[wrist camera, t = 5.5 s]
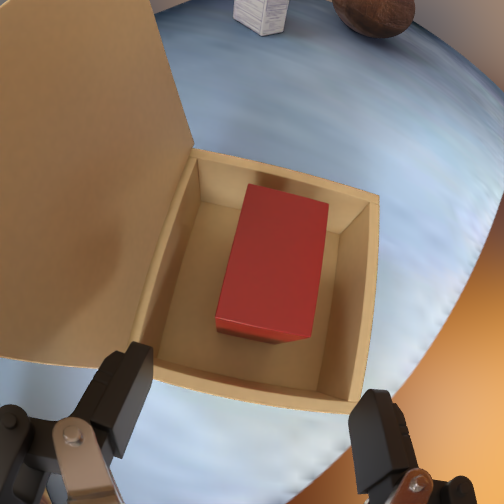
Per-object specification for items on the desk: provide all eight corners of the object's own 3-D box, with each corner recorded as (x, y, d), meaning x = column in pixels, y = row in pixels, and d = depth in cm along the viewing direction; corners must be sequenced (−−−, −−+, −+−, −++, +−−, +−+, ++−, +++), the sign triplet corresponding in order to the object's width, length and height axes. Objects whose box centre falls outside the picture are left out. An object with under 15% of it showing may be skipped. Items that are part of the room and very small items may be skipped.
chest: (345, 232, 26) (379, 195, 20) (320, 400, 21) (357, 415, 15) (195, 196, 26) (189, 147, 19) (147, 364, 21) (118, 367, 14)
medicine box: (283, 33, 37) (293, -12, 29) (260, 37, 36) (268, -11, 28) (254, 14, 39) (260, -26, 31) (231, 18, 37) (236, -24, 29)
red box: (216, 332, 21) (214, 317, 13) (237, 244, 24) (248, 182, 15) (275, 344, 21) (311, 337, 13) (291, 257, 24) (329, 203, 15)
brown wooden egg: (411, 52, 41) (441, -2, 27) (363, 55, 38) (395, -17, 23) (359, 14, 45) (379, -38, 31) (307, 13, 41) (324, -50, 27)
